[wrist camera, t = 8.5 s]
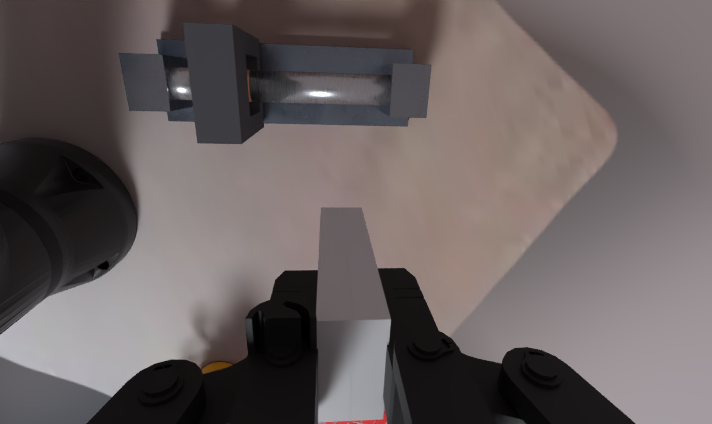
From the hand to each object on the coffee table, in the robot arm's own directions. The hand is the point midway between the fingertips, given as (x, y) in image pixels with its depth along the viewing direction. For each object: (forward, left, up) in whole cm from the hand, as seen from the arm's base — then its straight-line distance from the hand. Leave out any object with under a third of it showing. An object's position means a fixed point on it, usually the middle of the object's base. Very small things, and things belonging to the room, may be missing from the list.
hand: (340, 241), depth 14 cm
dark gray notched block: (-8, +5, -23) cm, 25 cm away
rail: (-4, +5, -24) cm, 25 cm away
